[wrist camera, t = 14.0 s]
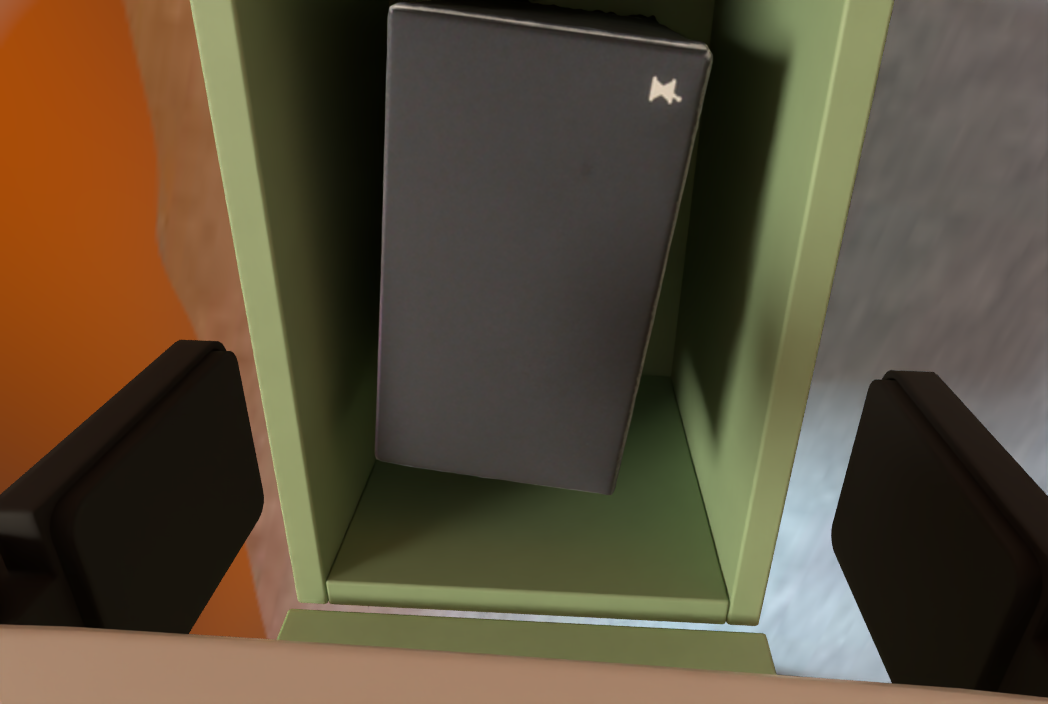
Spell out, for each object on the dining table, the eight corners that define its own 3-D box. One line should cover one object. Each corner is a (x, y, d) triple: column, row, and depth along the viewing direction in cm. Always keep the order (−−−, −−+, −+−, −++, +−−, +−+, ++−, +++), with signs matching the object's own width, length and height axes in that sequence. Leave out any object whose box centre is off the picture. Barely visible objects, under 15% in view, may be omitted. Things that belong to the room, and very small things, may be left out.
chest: (365, -69, 22) (163, -129, 11) (744, -67, 22) (924, -127, 11) (399, 373, 29) (296, 603, 18) (686, 384, 29) (759, 628, 18)
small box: (454, -12, 22) (369, -16, 13) (664, 16, 22) (736, 34, 13) (433, 302, 27) (360, 469, 17) (605, 325, 27) (625, 504, 17)
